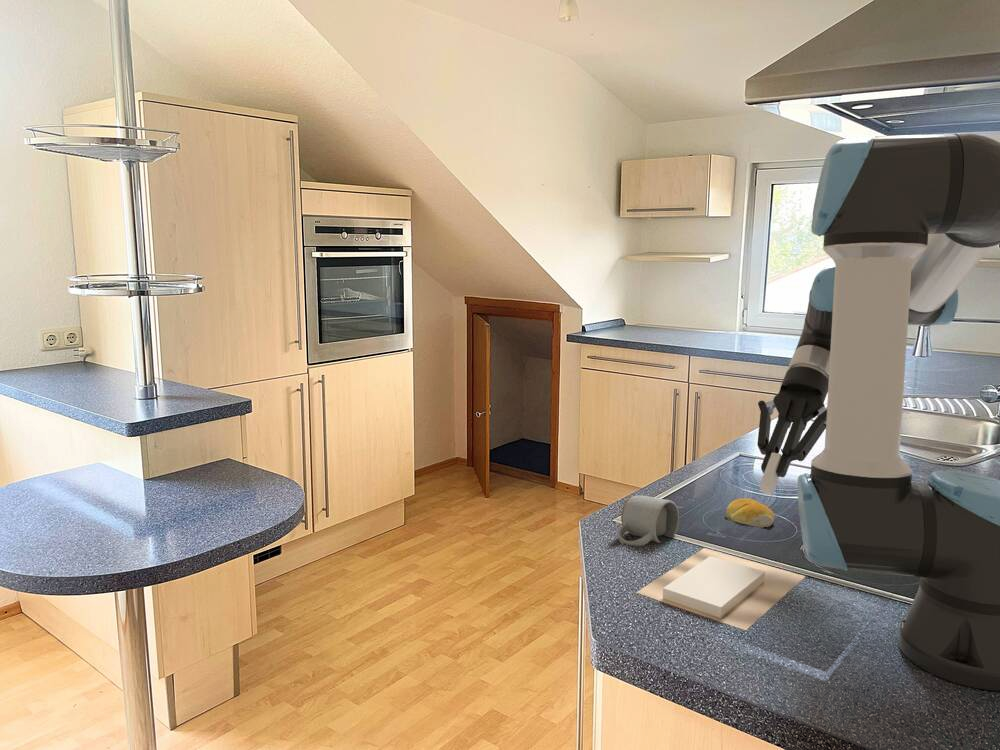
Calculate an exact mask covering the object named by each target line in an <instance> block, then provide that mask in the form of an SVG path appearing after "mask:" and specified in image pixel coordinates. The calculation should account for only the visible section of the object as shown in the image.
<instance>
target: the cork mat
mask: <svg viewBox="0 0 1000 750" xmlns="http://www.w3.org/2000/svg"><path fill="white" fill-rule="evenodd" d="M709 556H711V557H715V558H718V559H722V560H725V561H729V562H732V563H736V564H739V565H743V566H746V567H750V568H753V569H757V570H760V571H764V572H765V579H764V582H763V583H762V584H761V585H760V586H759V587H757V588H756V589H755V590H754V591H753V592H751V593H750V594H749V595H748V596H747V597H745V598H744V599H743V600H742V601H740V602H739V603H738V604H737V605H736V606H734V607H733V608H732V609H731V610H730V611H728V612H727V613H726V614H725V615H724V616H722V617H721V618H719V617H716V616H713V615H710V614H707V613H704V612H701V611H698V610H695V609H692V608H690V607H687V606H684V605H681V604H678V603H675V602H672V601H669V600H666V599H663V588H664V587H665V586H667V585H668V584H670V583H671V582H673V581H674V580H676V579H677V578H679V577H680V576H682V575H683V574H684V573H686V572H687V571H689V570H690V569H692V568H693V567H695V566H696V565H698V564H699V563H701V562H702V561H704V560H705V559H707V558H708V557H709ZM804 578H806V575H804V574H803V575H802V574H799V573H796V572H792V571H788V570H785V569H781V568H777V567H776V566H775V567H773V566H770V565H768V564H763V563H759V562H758V561H757V562H756V561H753V560H749V559H745V558H742V557H739V556H735V555H731V554H728V553H725V552H721V551H718V550H712V549H710V548H706V547H703V548H702V549H701V550H699V551H697V552H696V553H694V554H693V555H691V556H690V557H688V558H686V559H685V560H684V561H682V562H680V563H679V564H677V565H676V566H673V568H672V569H670V570H668V571H667V572H665V573H663V574H662V575H661V576H659V577H658V578H656V579H654V580H653V581H651V582H650V583H649V584H646V586H643V587H642V588H641V589H639V590H638V591H636V594H638V595H640V596H644V597H647V598H649V599H652V600H655V601H659V602H661V603H665V604H667V605H670V606H673V607H676V608H680V609H681V610H684V611H687V612H691V613H693V614H697V615H699V616H702V617H705V618H708V619H710V620H714V621H716V622H719V623H723V624H725V625H729V626H732V627H734V628H737V629H740V630H744V631H747V630H749V629H750V628H751V627H752V626H753V625H754V624H755V623H756V622H758V621H759V620H760V619H761V618H762V617H763V616H764V615H765V614H766V613H767V612H769V611H770V609H772V608H773V607H774V606H775V605H776V604H777V603H778V602H779V601H781V600H782V598H784V597H785V596H786V595H787V594H788V593H789V592H790V591H791V590H793V589H794V588H795V586H797V585H798V584H799V583H800V582H801V581H802V580H803V579H804Z"/></svg>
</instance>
